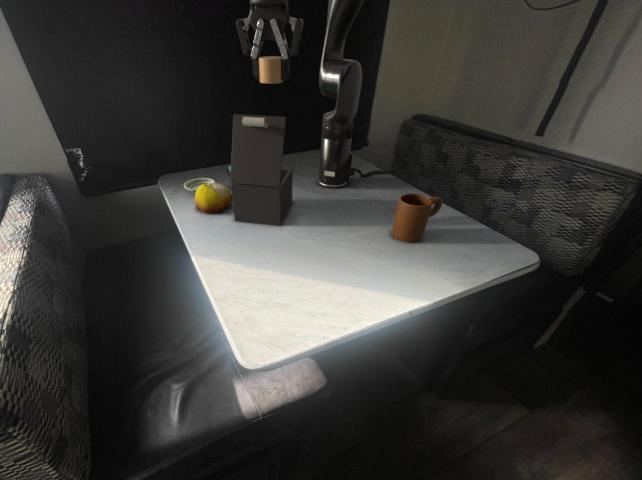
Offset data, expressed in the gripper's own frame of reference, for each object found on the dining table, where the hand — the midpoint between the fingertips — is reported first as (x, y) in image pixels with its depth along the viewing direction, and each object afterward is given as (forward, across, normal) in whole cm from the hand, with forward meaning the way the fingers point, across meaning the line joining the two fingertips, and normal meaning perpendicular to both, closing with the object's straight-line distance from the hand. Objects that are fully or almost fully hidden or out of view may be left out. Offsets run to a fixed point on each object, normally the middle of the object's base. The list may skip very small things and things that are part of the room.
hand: (271, 79), depth 73 cm
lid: (+14, +3, +4) cm, 15 cm away
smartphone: (+31, +18, -25) cm, 44 cm away
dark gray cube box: (+31, +3, +1) cm, 31 cm away
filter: (0, 0, 0) cm, 0 cm away
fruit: (+31, +18, +1) cm, 36 cm away
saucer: (+31, +26, -9) cm, 42 cm away
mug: (+32, -37, +5) cm, 49 cm away
